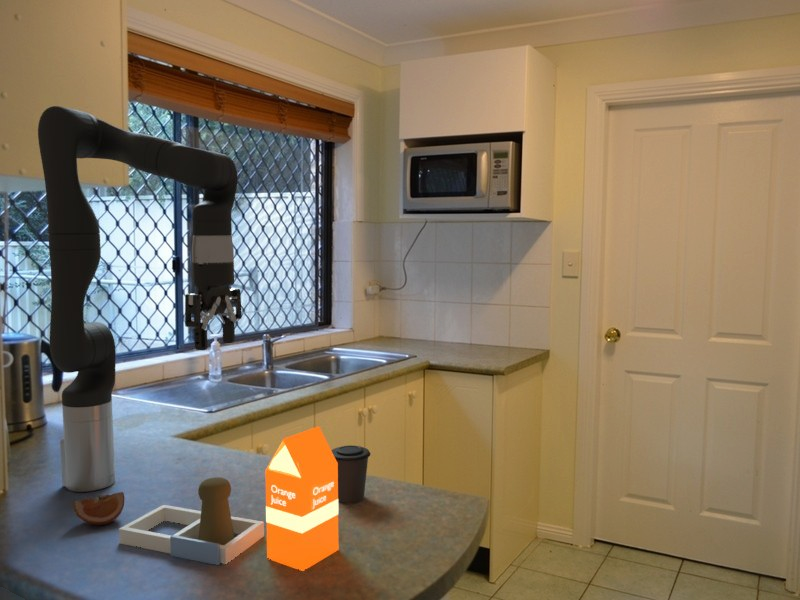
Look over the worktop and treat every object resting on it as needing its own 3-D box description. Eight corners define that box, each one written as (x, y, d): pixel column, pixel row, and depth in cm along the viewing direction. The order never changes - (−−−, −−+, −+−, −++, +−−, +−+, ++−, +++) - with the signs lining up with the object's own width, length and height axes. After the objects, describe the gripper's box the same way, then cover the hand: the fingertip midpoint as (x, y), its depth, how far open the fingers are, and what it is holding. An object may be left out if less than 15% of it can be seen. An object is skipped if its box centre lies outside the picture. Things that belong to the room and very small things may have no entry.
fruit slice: (75, 534, 119) (73, 506, 118) (73, 520, 125) (71, 493, 124) (127, 524, 123) (126, 497, 122) (122, 511, 129) (121, 485, 128)
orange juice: (266, 558, 110) (263, 435, 108) (303, 538, 117) (301, 422, 115) (303, 571, 106) (301, 443, 104) (339, 549, 113) (338, 429, 111)
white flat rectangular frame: (116, 544, 115) (115, 526, 114) (163, 518, 125) (163, 500, 125) (223, 566, 107) (223, 546, 107) (264, 535, 118) (263, 517, 118)
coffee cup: (378, 495, 136) (378, 445, 135) (355, 509, 129) (355, 457, 128) (344, 488, 140) (344, 439, 139) (320, 501, 133) (320, 450, 132)
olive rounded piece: (220, 533, 119) (218, 471, 118) (242, 543, 115) (241, 478, 114) (190, 545, 114) (187, 480, 113) (211, 556, 111) (209, 489, 110)
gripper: (219, 258, 137) (221, 339, 139) (171, 261, 124) (174, 351, 126) (251, 259, 135) (253, 341, 136) (206, 261, 121) (208, 353, 123)
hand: (215, 346), depth 131 cm, fingers open, 8 cm apart
